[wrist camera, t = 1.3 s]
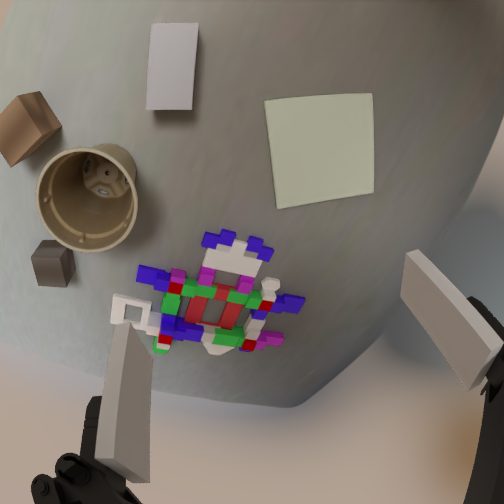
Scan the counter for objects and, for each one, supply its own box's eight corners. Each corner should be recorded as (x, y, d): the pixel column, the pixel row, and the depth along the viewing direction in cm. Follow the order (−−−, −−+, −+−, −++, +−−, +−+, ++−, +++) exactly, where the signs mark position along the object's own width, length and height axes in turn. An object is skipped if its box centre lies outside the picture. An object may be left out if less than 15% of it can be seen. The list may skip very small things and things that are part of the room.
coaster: (263, 100, 29) (264, 101, 28) (369, 93, 30) (372, 93, 29) (276, 207, 35) (277, 209, 35) (371, 191, 36) (373, 192, 36)
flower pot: (156, 208, 33) (145, 249, 26) (78, 217, 32) (51, 257, 25) (147, 122, 28) (129, 139, 21) (63, 136, 27) (25, 158, 20)
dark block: (43, 239, 32) (30, 257, 29) (70, 240, 33) (59, 258, 30) (49, 266, 34) (38, 285, 31) (75, 268, 35) (66, 287, 32)
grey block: (152, 106, 28) (146, 110, 24) (157, 30, 24) (151, 23, 20) (192, 105, 28) (191, 109, 25) (198, 30, 24) (198, 23, 21)
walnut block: (11, 121, 24) (-13, 130, 20) (40, 91, 24) (17, 95, 20) (32, 154, 27) (10, 167, 23) (62, 125, 26) (42, 135, 22)
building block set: (325, 253, 41) (338, 273, 37) (267, 357, 50) (272, 379, 46) (128, 203, 33) (120, 221, 29) (110, 331, 42) (105, 354, 38)
